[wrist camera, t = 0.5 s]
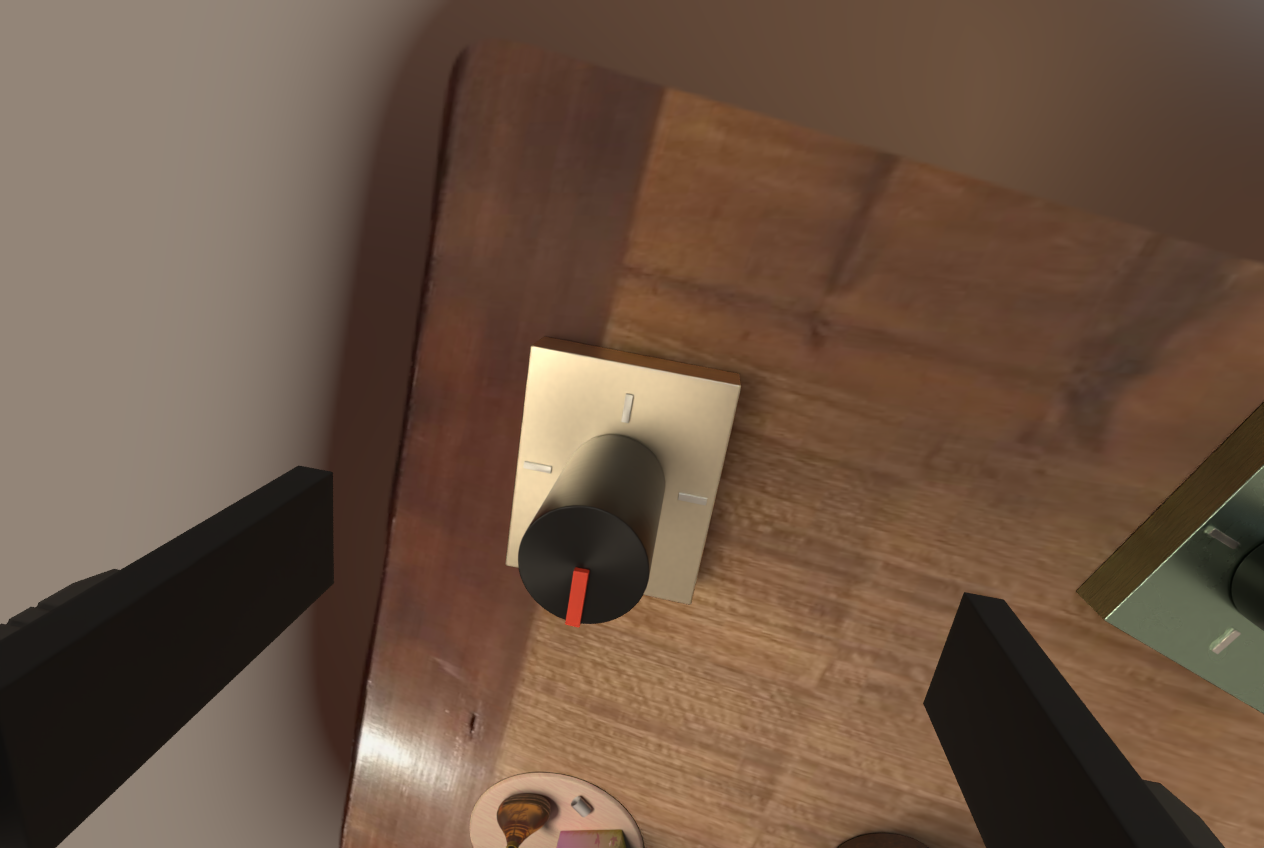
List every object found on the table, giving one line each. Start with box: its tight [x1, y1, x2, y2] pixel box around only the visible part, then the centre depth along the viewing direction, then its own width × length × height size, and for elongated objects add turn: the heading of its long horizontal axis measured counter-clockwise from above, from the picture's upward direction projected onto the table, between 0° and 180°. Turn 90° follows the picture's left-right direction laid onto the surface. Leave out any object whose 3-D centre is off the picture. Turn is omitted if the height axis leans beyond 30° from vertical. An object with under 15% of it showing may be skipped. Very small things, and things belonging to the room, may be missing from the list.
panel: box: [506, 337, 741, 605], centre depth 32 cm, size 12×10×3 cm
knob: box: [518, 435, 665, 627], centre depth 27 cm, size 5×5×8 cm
